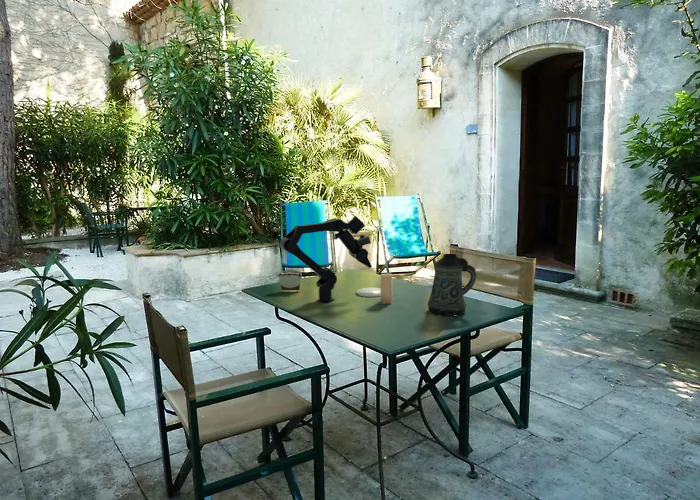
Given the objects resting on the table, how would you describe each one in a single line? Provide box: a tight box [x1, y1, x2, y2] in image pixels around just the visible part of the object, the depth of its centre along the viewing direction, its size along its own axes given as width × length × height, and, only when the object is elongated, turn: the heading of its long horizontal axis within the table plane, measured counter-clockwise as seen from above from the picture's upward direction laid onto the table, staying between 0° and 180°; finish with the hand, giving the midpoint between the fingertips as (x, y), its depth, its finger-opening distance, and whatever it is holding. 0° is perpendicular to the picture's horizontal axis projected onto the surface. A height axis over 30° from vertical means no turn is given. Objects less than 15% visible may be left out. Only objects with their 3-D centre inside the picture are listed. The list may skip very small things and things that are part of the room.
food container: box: [277, 270, 303, 291], centre depth 281 cm, size 12×6×10 cm, turn 84°
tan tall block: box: [380, 273, 393, 305], centre depth 256 cm, size 5×5×13 cm
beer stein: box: [427, 253, 477, 317], centre depth 239 cm, size 16×19×25 cm
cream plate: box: [356, 287, 381, 298], centre depth 274 cm, size 14×14×1 cm
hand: (368, 265), depth 265 cm, fingers open, 9 cm apart
